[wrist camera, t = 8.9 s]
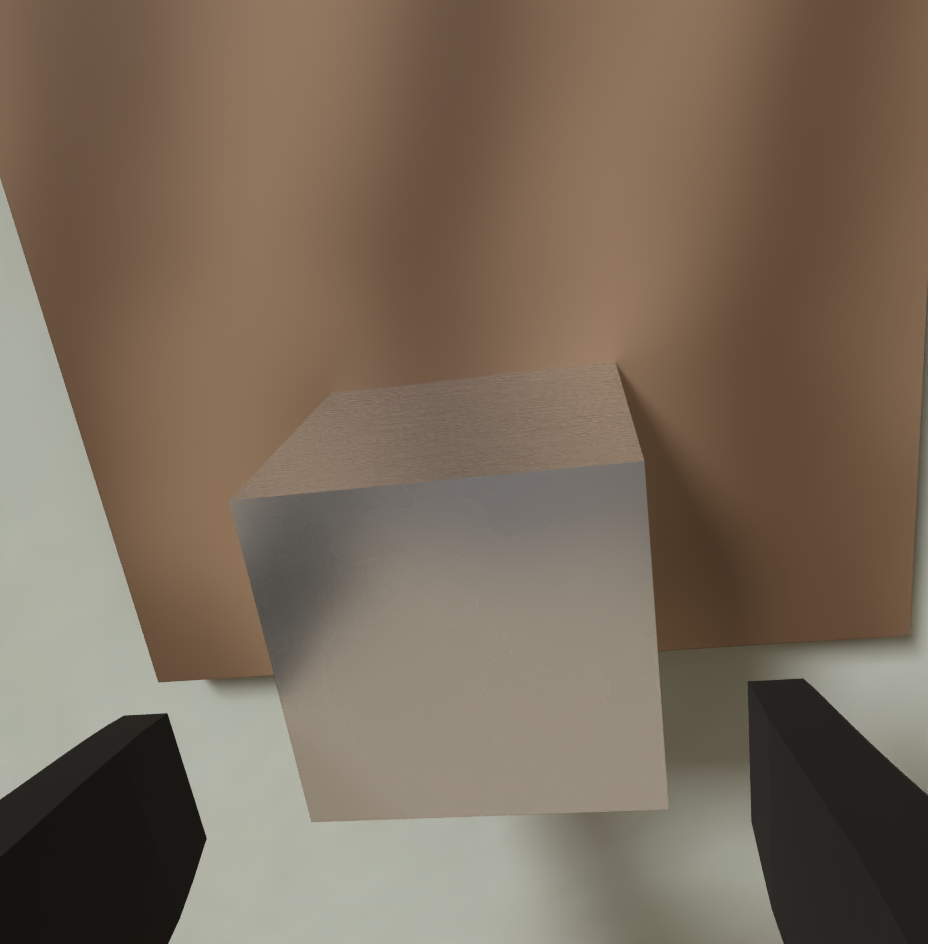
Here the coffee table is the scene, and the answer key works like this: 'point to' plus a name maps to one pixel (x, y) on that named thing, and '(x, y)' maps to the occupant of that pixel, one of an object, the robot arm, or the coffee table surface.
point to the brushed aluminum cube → (462, 599)
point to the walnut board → (490, 268)
